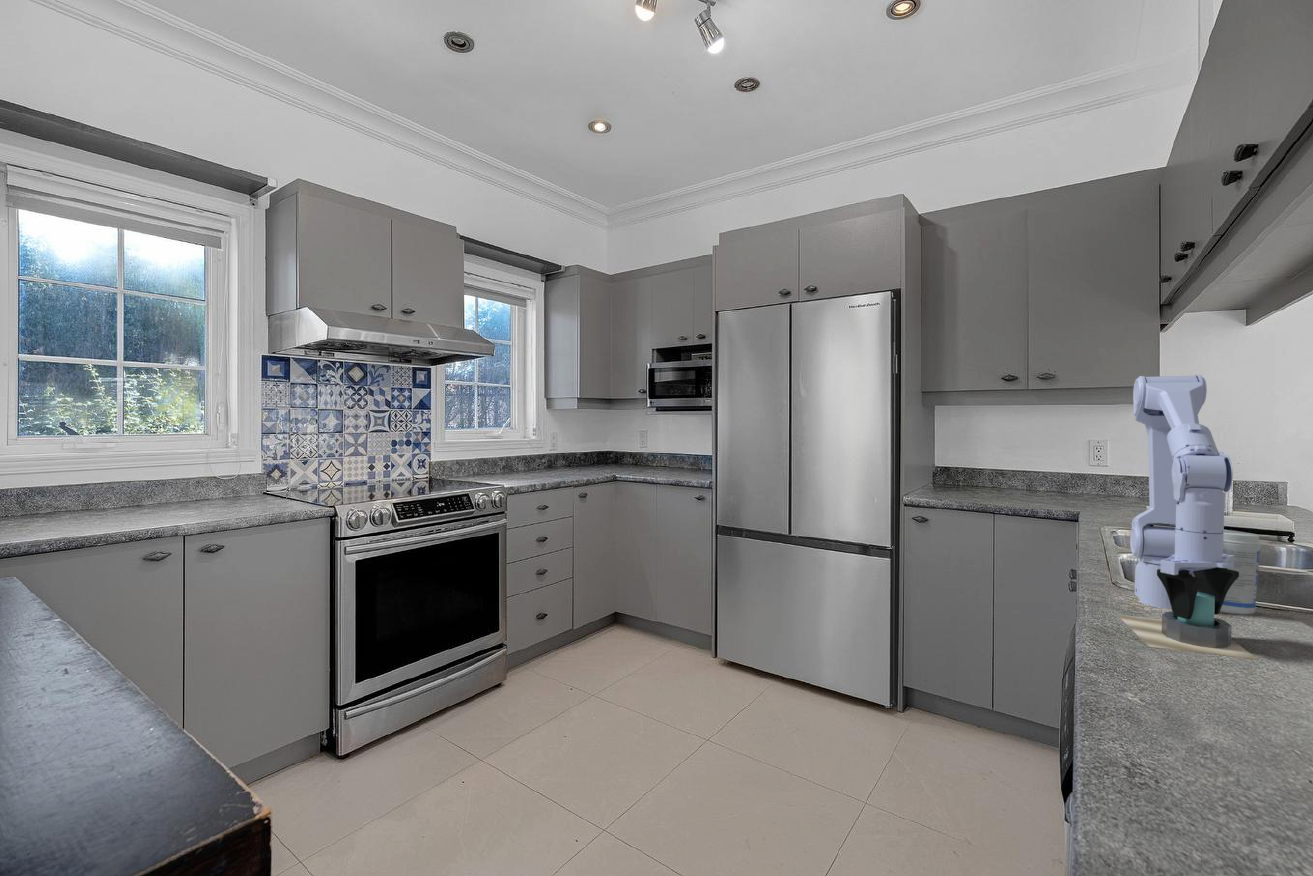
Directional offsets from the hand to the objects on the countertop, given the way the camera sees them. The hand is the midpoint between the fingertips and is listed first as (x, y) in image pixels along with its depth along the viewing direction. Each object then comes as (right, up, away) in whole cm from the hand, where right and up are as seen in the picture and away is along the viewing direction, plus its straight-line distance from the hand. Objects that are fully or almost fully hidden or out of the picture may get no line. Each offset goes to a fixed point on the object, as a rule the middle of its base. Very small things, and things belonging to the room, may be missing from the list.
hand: (1196, 614), depth 97 cm
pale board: (-1, -5, +2) cm, 5 cm away
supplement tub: (+19, -4, +16) cm, 25 cm away
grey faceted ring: (0, -4, 0) cm, 4 cm away
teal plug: (0, -4, 0) cm, 4 cm away
